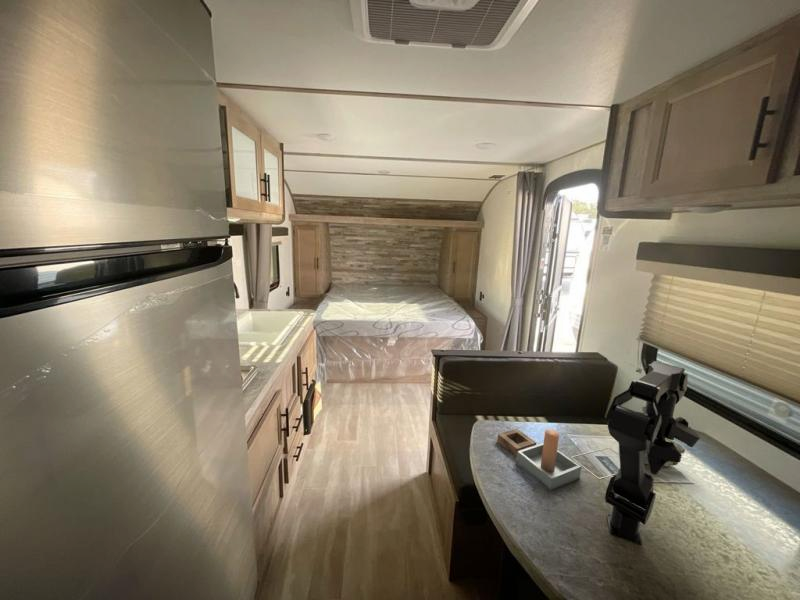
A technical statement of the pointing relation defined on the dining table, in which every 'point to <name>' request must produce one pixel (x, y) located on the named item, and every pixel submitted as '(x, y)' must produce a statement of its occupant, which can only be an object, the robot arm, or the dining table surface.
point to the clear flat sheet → (587, 469)
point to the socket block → (515, 434)
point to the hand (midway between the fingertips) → (648, 462)
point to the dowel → (549, 450)
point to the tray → (562, 473)
